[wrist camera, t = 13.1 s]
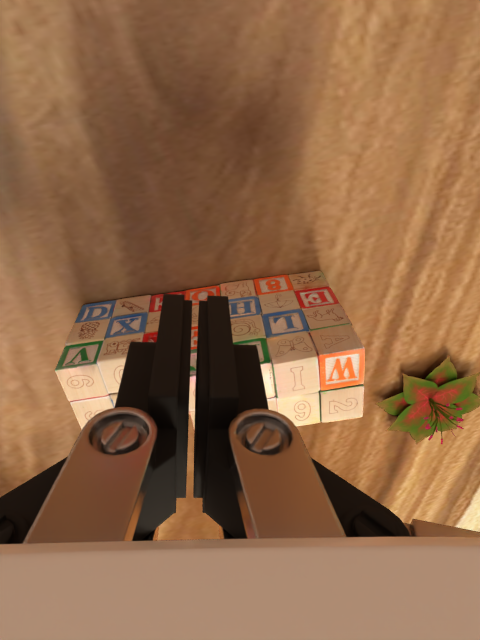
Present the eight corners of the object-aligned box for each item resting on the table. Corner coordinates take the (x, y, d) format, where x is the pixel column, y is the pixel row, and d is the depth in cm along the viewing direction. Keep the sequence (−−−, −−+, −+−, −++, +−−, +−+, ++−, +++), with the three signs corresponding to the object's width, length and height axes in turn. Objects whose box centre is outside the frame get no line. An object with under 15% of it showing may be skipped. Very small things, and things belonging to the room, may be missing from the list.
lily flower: (502, 397, 49) (528, 428, 45) (409, 453, 53) (426, 485, 49) (452, 333, 44) (476, 361, 40) (352, 400, 47) (366, 431, 44)
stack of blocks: (102, 359, 42) (70, 462, 32) (81, 302, 39) (38, 397, 29) (324, 327, 42) (365, 420, 32) (323, 268, 39) (367, 349, 29)
